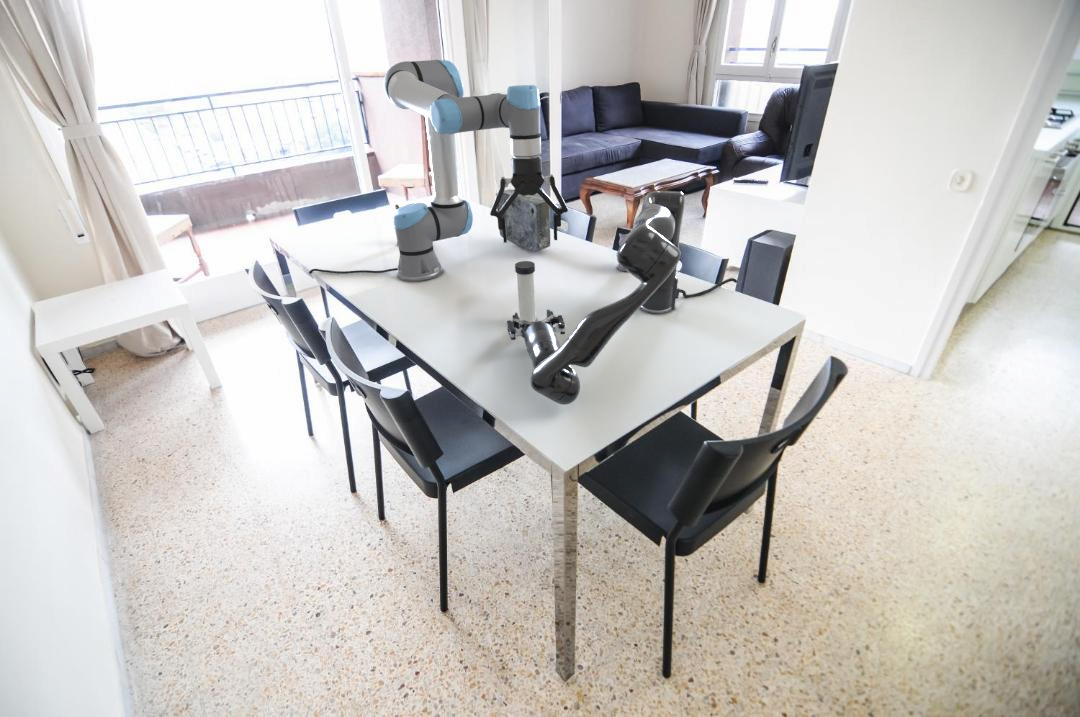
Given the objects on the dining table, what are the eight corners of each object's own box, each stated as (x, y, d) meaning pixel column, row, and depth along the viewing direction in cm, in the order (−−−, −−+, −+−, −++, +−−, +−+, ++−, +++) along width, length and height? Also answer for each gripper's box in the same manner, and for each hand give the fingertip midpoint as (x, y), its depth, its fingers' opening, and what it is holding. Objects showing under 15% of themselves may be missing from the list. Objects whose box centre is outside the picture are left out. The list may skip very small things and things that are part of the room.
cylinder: (520, 325, 140) (517, 269, 131) (519, 318, 144) (515, 263, 135) (536, 323, 141) (534, 268, 132) (534, 316, 144) (532, 262, 136)
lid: (516, 275, 132) (515, 268, 131) (514, 268, 136) (513, 261, 135) (536, 273, 132) (536, 267, 131) (533, 266, 137) (533, 260, 136)
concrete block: (555, 253, 189) (554, 199, 179) (537, 258, 185) (534, 204, 174) (517, 236, 208) (514, 187, 197) (499, 241, 203) (495, 191, 193)
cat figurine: (644, 267, 174) (647, 233, 167) (631, 274, 169) (634, 239, 163) (624, 262, 179) (626, 229, 172) (611, 268, 174) (612, 234, 168)
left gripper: (574, 151, 126) (575, 233, 137) (477, 156, 126) (485, 237, 137) (577, 156, 120) (577, 242, 131) (474, 161, 120) (483, 246, 131)
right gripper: (571, 327, 116) (558, 298, 130) (511, 333, 114) (504, 304, 128) (571, 354, 120) (558, 324, 134) (513, 361, 118) (506, 329, 132)
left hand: (530, 240), depth 134 cm, fingers open, 13 cm apart
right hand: (532, 314), depth 131 cm, fingers open, 8 cm apart
